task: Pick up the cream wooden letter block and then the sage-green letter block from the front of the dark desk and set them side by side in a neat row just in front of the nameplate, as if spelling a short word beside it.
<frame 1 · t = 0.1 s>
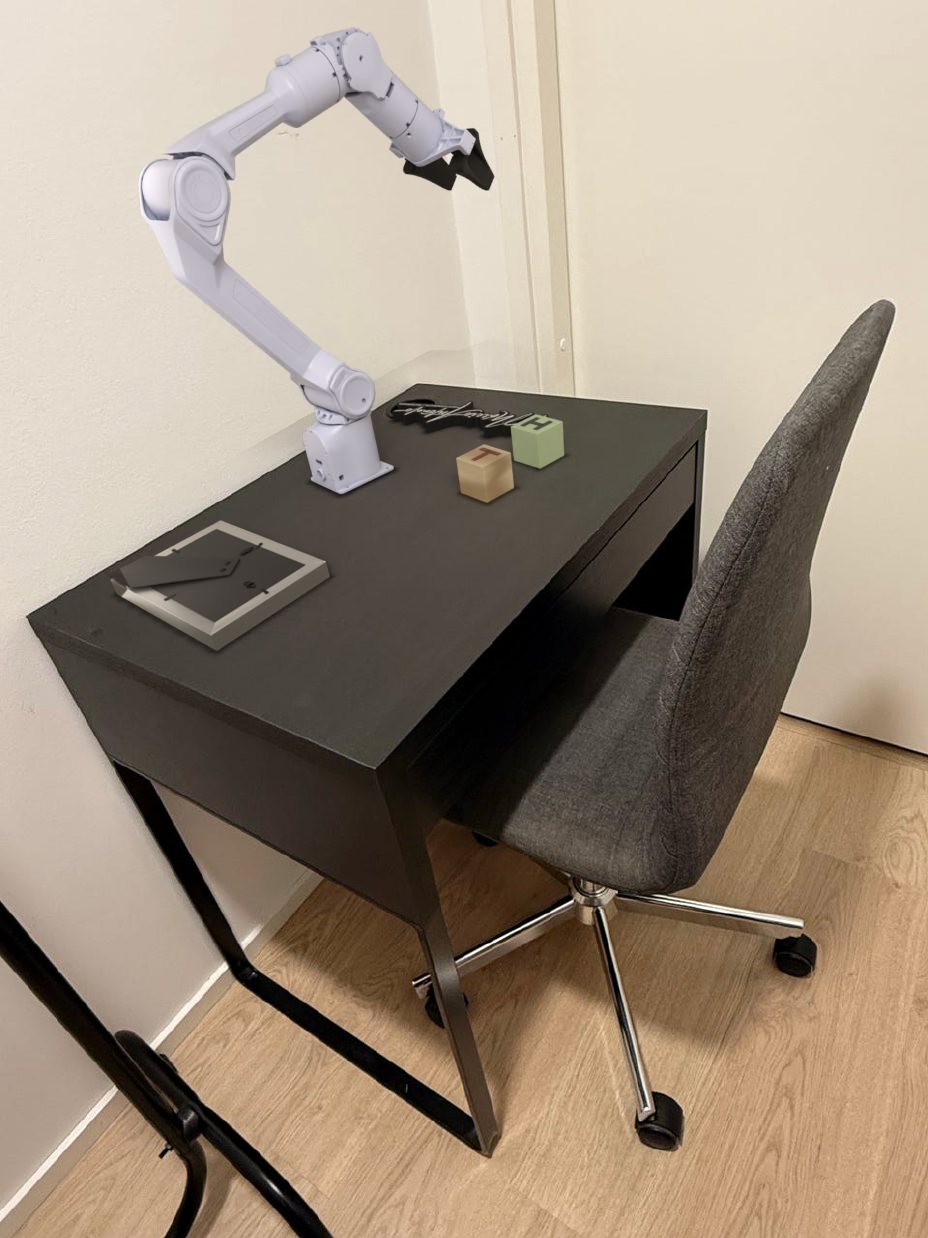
hand: (471, 183, 102), 32 cm above the table, tool tilted 50°, fingers open, 7 cm apart
nameplate: (466, 423, 118), on the table
picture frame: (222, 587, 87), on the table
cream block: (487, 490, 98), on the table
sage block: (539, 457, 104), on the table
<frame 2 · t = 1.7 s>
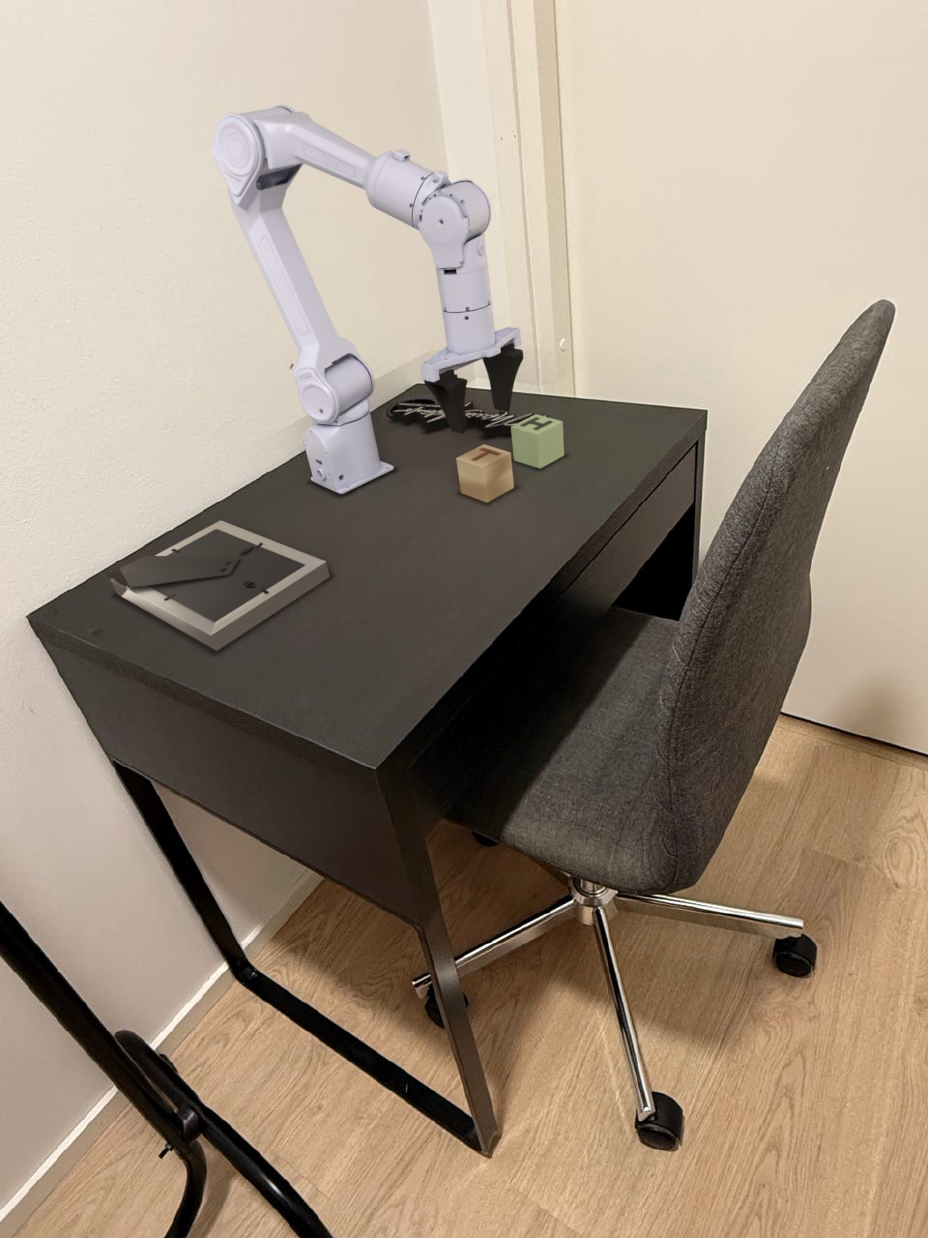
hand: (480, 420, 93), 10 cm above the table, tool pointing down, fingers open, 7 cm apart
nothing on the table moved.
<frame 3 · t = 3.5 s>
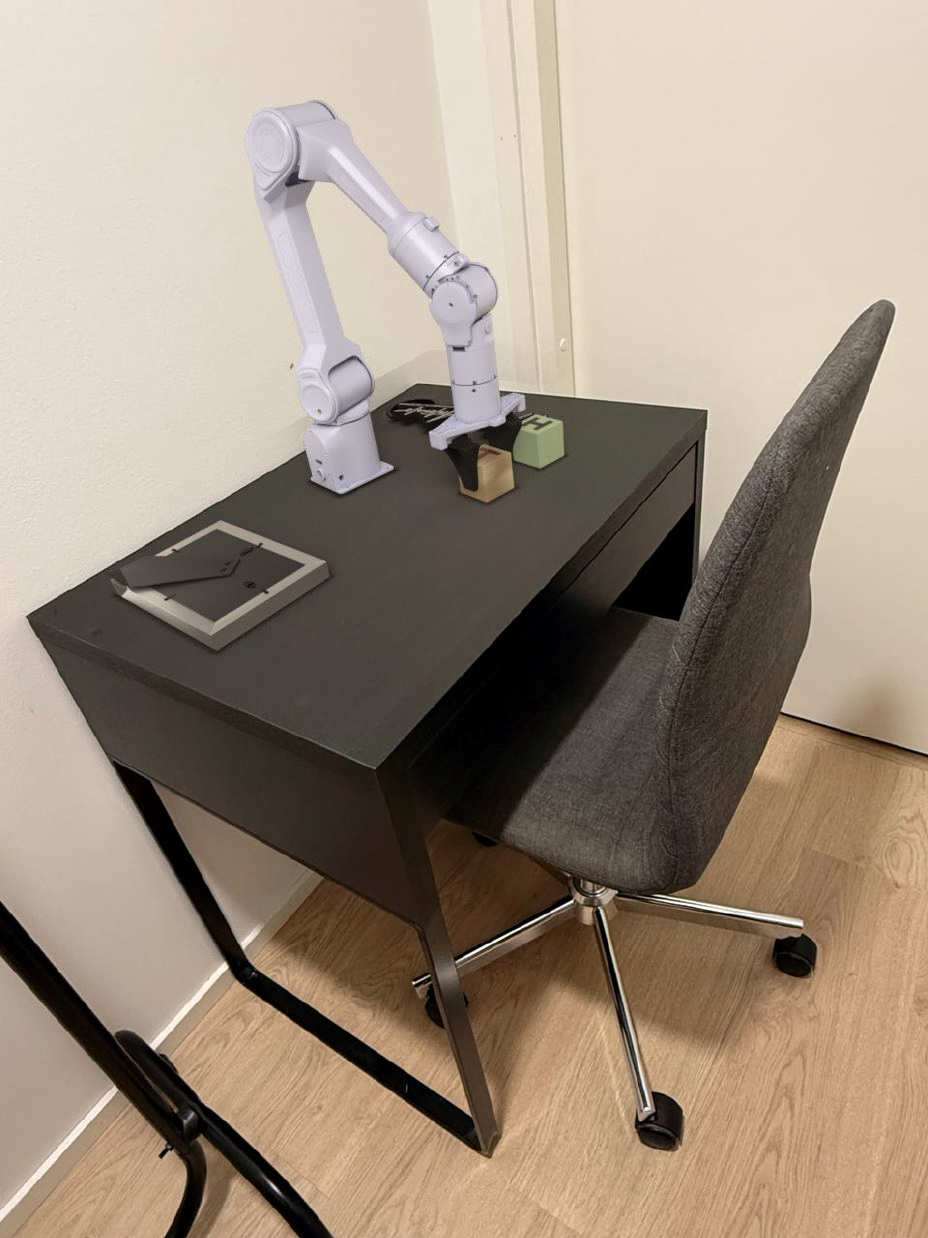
hand: (486, 480, 97), 1 cm above the table, tool pointing down, fingers closed on cream block, 5 cm apart
cream block: (487, 490, 98), on the table, touching gripper
everything else where it was.
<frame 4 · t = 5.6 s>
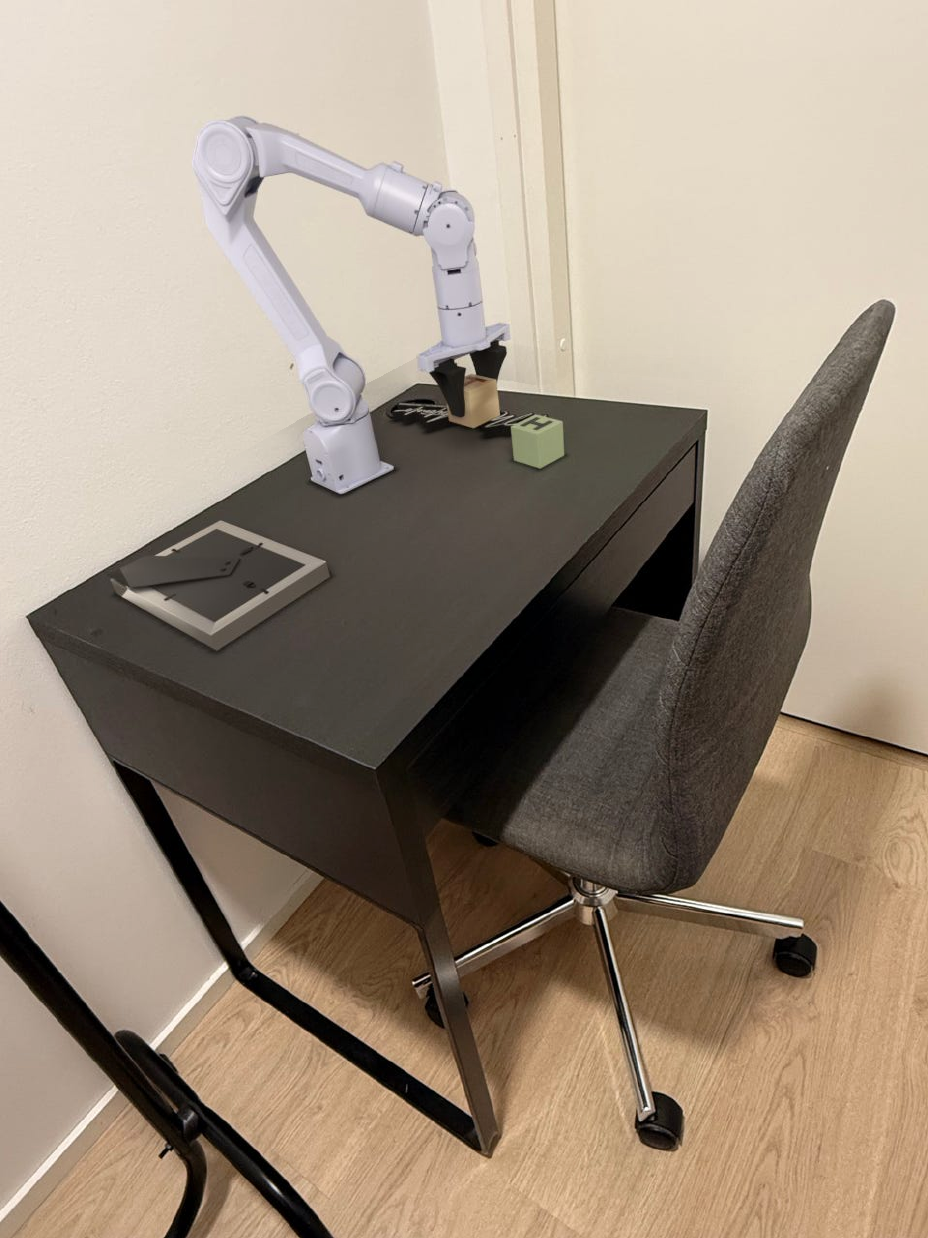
hand: (472, 408, 101), 8 cm above the table, tool pointing down, fingers closed on cream block, 5 cm apart
cream block: (474, 418, 102), point 6 cm above the table, touching gripper
everything else where it was.
when the fingers open (1 cm above the table, at t = 7.7 s): cream block stays where it is, on the table.
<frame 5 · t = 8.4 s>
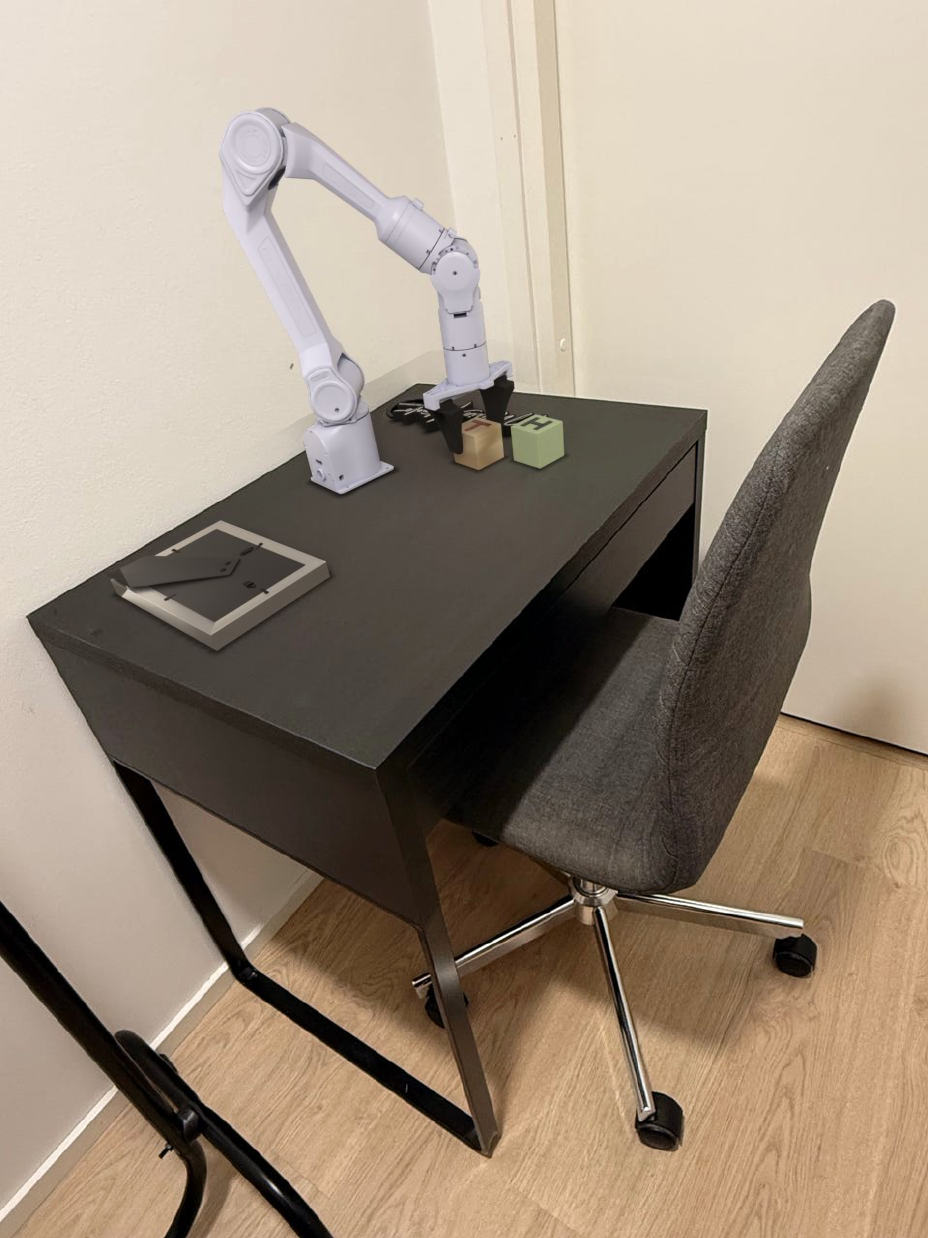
hand: (476, 442, 105), 3 cm above the table, tool pointing down, fingers open, 7 cm apart
cream block: (479, 459, 106), on the table
everything else where it was.
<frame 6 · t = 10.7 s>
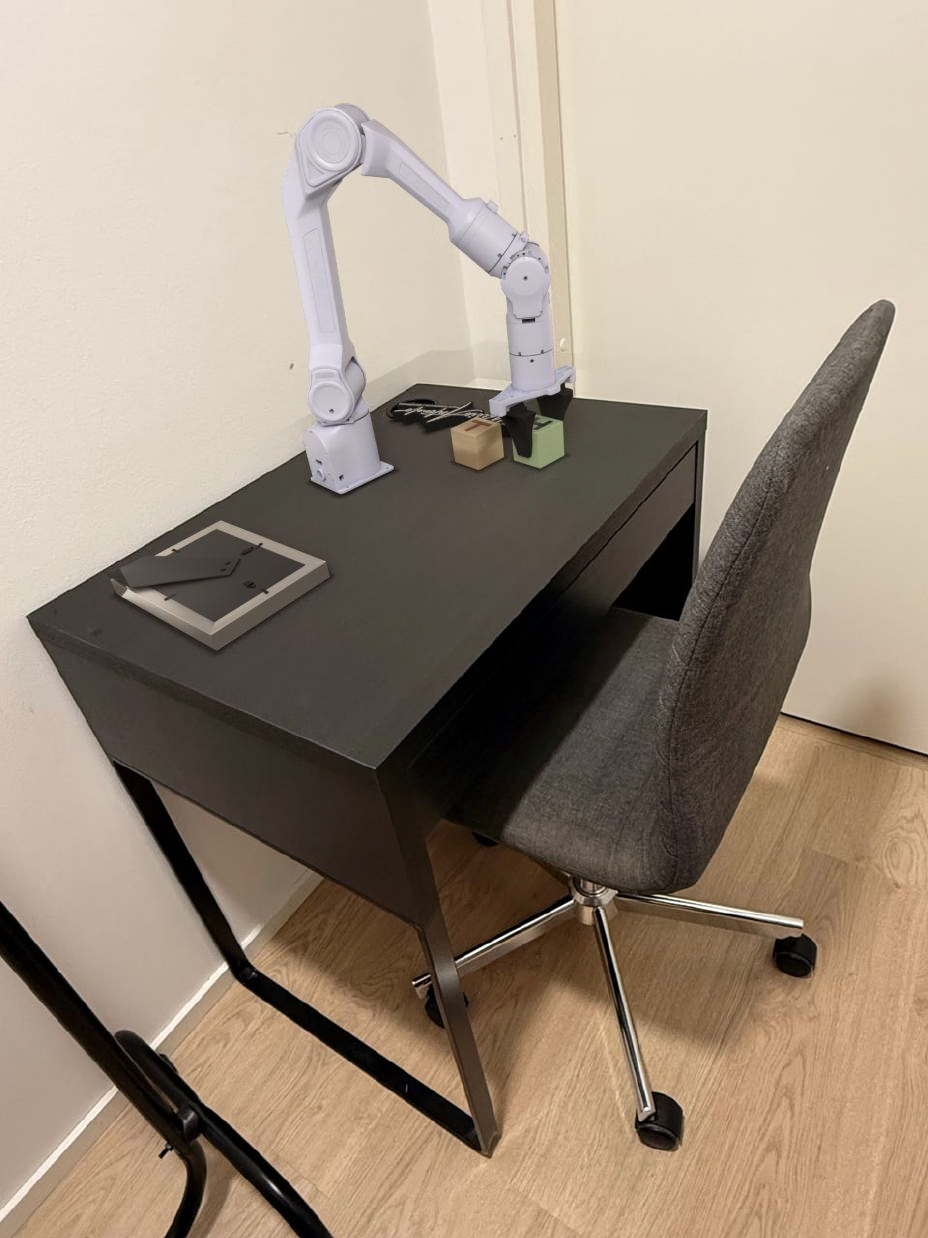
hand: (538, 448, 103), 1 cm above the table, tool pointing down, fingers closed on sage block, 5 cm apart
sage block: (539, 457, 104), on the table, touching gripper
everything else where it was.
when the fingers open (1 cm above the table, at t = 15.3 s): sage block stays where it is, on the table.
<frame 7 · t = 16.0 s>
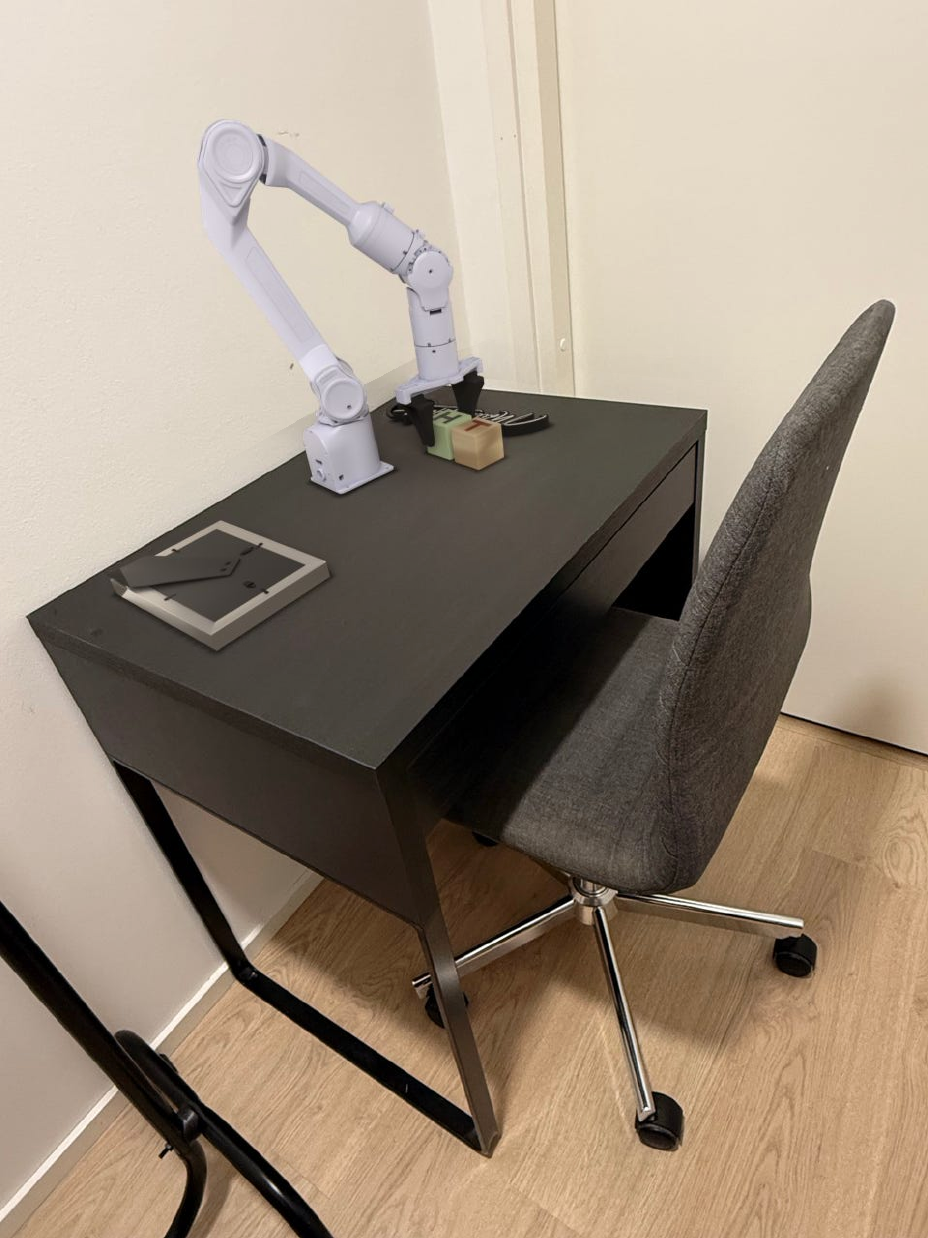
hand: (448, 435, 109), 2 cm above the table, tool pointing down, fingers open, 7 cm apart
sage block: (451, 450, 110), on the table
everything else where it was.
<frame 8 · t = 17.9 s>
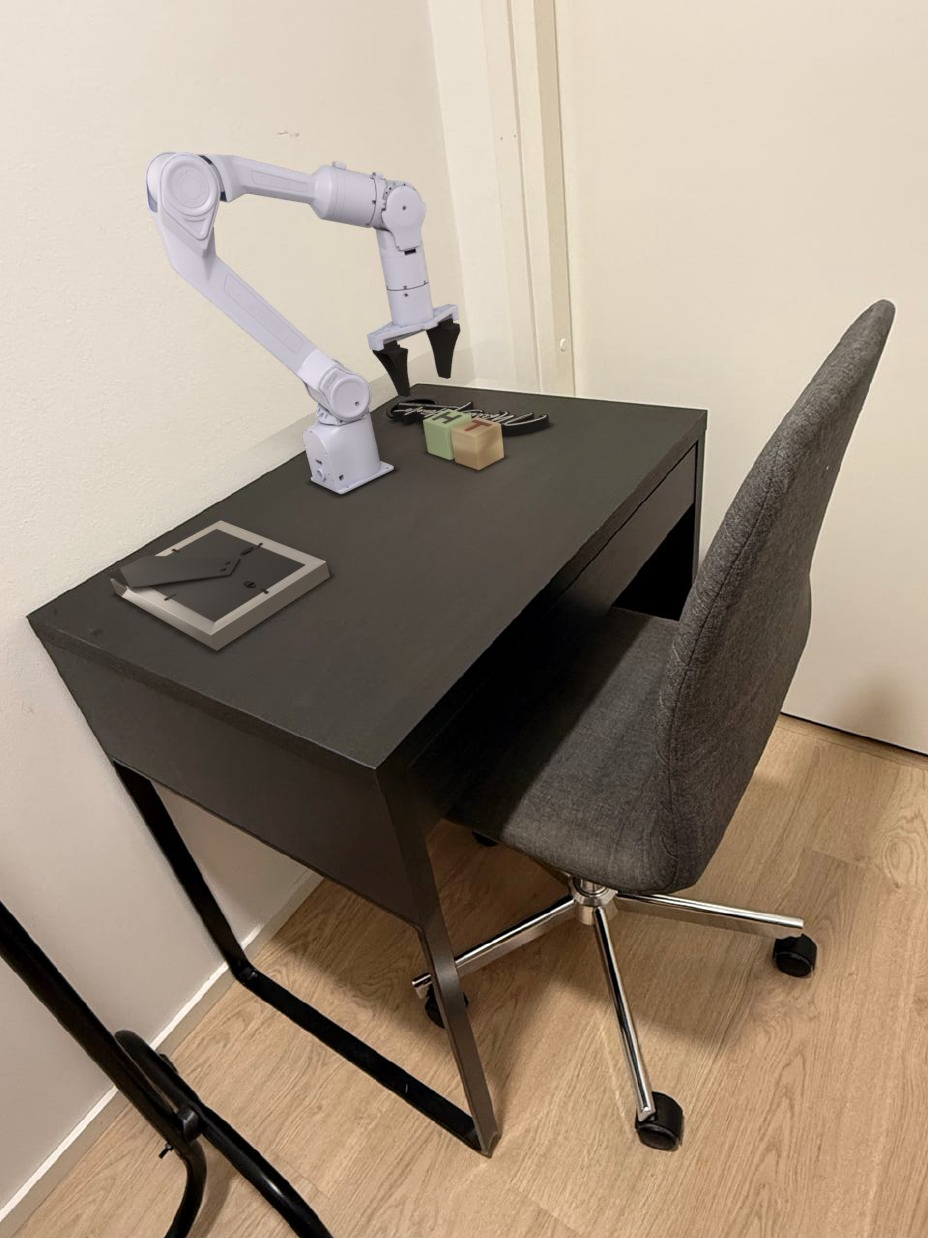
hand: (424, 385, 106), 9 cm above the table, tool pointing down, fingers open, 7 cm apart
nothing on the table moved.
at the end: cream block 0.8 cm from the target spot on the table beside the nameplate, on the table; sage block 0.8 cm from the target spot on the table beside the nameplate, on the table; sage block tilted 0° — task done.
